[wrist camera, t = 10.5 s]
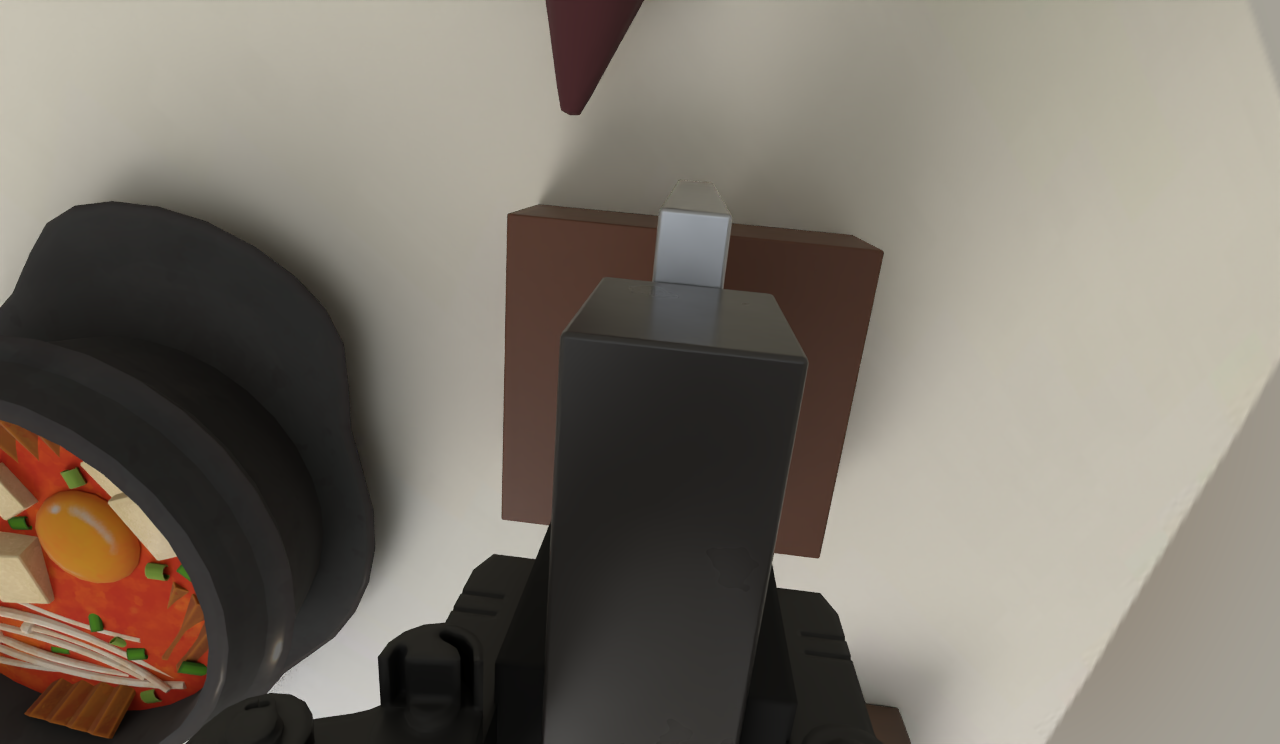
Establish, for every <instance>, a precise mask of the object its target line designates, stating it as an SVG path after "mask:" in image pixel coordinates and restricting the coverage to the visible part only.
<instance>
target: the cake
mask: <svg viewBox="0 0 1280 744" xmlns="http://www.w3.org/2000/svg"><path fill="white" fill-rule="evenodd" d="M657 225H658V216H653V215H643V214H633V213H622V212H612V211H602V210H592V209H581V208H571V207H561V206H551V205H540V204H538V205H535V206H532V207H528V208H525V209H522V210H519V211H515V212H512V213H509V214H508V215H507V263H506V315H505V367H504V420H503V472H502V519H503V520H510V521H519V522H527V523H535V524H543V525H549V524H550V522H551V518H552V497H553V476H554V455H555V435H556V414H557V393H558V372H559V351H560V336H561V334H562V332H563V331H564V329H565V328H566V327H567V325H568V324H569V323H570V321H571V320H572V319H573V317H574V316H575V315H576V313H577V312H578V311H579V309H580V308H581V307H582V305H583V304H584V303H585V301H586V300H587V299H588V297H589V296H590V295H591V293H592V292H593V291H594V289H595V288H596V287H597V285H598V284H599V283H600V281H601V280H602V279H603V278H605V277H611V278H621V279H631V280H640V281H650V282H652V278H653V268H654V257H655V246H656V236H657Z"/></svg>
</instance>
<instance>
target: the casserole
mask: <svg viewBox="0 0 1280 744" xmlns="http://www.w3.org/2000/svg"><path fill="white" fill-rule="evenodd" d="M374 551H375V535H374V514H373V507H372V503H371V500H370V496H369V492H368V489H367V485H366V481H365V478H364V474H363V470H362V467H361V463H360V459H359V456H358V452H357V449H356V445H355V442H354V438H353V434H352V431H351V419H350V402H349V386H348V377H347V368H346V360H345V351H344V344H343V342H342V340H341V338H340V336H339V334H338V332H337V330H336V328H335V326H334V325H333V323H332V321H331V319H330V317H329V315H328V313H327V311H326V309H325V308H324V307H323V306H322V305H321V303H320V302H319V301H318V300H317V299H316V298H315V297H314V296H313V295H312V294H311V293H310V292H309V291H308V290H307V289H306V288H305V286H304V285H303V284H302V283H301V282H300V281H299V280H298V279H297V278H296V277H295V276H294V275H292V274H291V273H290V272H288V271H287V270H286V269H284V268H283V267H282V266H280V265H279V264H278V263H276V262H275V261H273V260H272V259H271V258H269V257H268V256H267V255H265V254H264V253H263V252H261V251H260V250H259V249H257V248H256V247H255V246H253V245H251V244H249V243H247V242H245V241H243V240H241V239H239V238H237V237H235V236H234V235H232V234H230V233H228V232H226V231H224V230H222V229H220V228H218V227H216V226H214V225H212V224H211V223H209V222H206V221H203V220H200V219H197V218H193V217H190V216H187V215H184V214H180V213H177V212H174V211H171V210H167V209H164V208H161V207H157V206H148V205H140V204H131V203H123V202H114V201H110V202H102V203H94V204H86V205H77V206H74V207H72V208H71V209H69V210H67V211H66V212H64V213H62V214H61V215H59V216H58V217H56V218H54V219H53V220H51V221H50V222H48V223H47V224H46V225H45V227H44V229H43V231H42V233H41V234H40V236H39V238H38V240H37V242H36V243H35V245H34V247H33V249H32V251H31V252H30V254H29V257H28V259H27V261H26V264H25V266H24V268H23V271H22V273H21V275H20V277H19V280H18V282H17V284H16V287H15V289H14V291H13V293H12V295H11V296H10V297H9V298H8V299H7V300H6V302H5V303H4V304H3V305H2V306H1V307H0V744H183V743H185V742H186V741H188V740H189V739H191V738H192V737H193V736H194V735H195V734H196V733H197V732H198V731H199V730H200V729H201V728H202V727H203V726H204V725H205V724H206V723H207V722H209V721H210V720H211V719H212V718H214V717H215V716H216V715H218V714H219V713H220V712H222V711H223V710H224V709H225V708H227V707H230V706H232V705H234V704H236V703H238V702H240V701H243V700H245V699H247V698H250V697H255V696H259V695H264V694H267V693H268V691H269V690H270V689H271V688H272V687H273V686H274V684H275V683H276V682H277V681H278V680H279V679H280V677H281V676H282V675H283V674H284V673H285V672H287V671H288V670H289V669H291V668H292V667H294V666H295V665H296V664H298V663H299V662H301V661H302V660H303V659H305V658H306V657H308V656H309V655H310V654H312V653H313V652H315V651H316V650H317V649H319V648H320V647H321V646H323V645H324V644H326V643H327V642H328V641H330V640H331V639H332V638H334V637H335V636H336V635H337V634H338V632H339V631H340V630H341V629H342V627H343V626H344V625H345V624H346V623H347V621H348V620H349V619H350V618H351V616H352V615H353V614H354V613H355V611H356V609H357V607H358V605H359V602H360V600H361V598H362V596H363V594H364V592H365V589H366V587H367V585H368V583H369V579H370V573H371V568H372V562H373V557H374Z"/></svg>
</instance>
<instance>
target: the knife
mask: <svg viewBox="0 0 1280 744" xmlns="http://www.w3.org/2000/svg"><path fill="white" fill-rule="evenodd" d="M731 226H732V215H731V214H730V212H729V210H728V208H727V207H726V205H725V203H724V201H723V200H722V198H721V196H720V194H719V193H718V191H717V189H716V187H715V186H714V184H713V183H711V182H700V181H690V180H679V181H678V182H677V184H676V185H675V187H674V189H673V190H672V192H671V193H670V195H669V196H668V198H667V199H666V201H665V202H664V204H663V205H662V207H661V208H660V210H659V215H658V225H657V236H656V246H655V257H654V268H653V278H652V282H650V281H640V280H631V279H621V278H611V277H605V278H603V279H602V280H601V281H600V283H599V284H598V285H597V287H596V288H595V289H594V291H593V292H592V293H591V295H590V296H589V297H588V299H587V300H586V301H585V303H584V304H583V305H582V307H581V308H580V309H579V311H578V312H577V313H576V315H575V316H574V317H573V319H572V320H571V321H570V323H569V324H568V325H567V327H566V328H565V329H564V331H563V332H562V334H561V336H560V351H559V372H558V393H557V414H556V435H555V455H554V476H553V497H552V518H551V538H550V559H549V580H548V601H547V622H546V642H545V663H544V684H543V705H542V725H541V744H739V741H740V735H741V730H742V724H743V719H744V713H745V708H746V702H747V697H748V691H749V686H750V681H751V675H752V670H753V664H754V659H755V653H756V648H757V642H758V637H759V631H760V626H761V620H762V615H763V610H764V604H765V599H766V593H767V588H768V582H769V577H770V571H771V566H772V560H773V555H774V549H775V544H776V539H777V533H778V528H779V522H780V517H781V511H782V506H783V500H784V495H785V489H786V484H787V479H788V473H789V468H790V462H791V457H792V451H793V446H794V440H795V435H796V429H797V424H798V418H799V413H800V408H801V402H802V397H803V391H804V386H805V380H806V375H807V369H808V364H809V363H808V359H807V357H806V355H805V353H804V351H803V349H802V348H801V346H800V344H799V342H798V340H797V338H796V337H795V335H794V333H793V331H792V329H791V327H790V326H789V324H788V322H787V320H786V318H785V316H784V314H783V313H782V311H781V309H780V307H779V305H778V303H777V302H776V300H775V298H774V296H773V295H771V294H767V293H757V292H747V291H738V290H728V289H723V287H724V280H725V272H726V264H727V257H728V249H729V242H730V234H731Z"/></svg>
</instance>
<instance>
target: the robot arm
mask: <svg viewBox="0 0 1280 744" xmlns="http://www.w3.org/2000/svg"><path fill="white" fill-rule="evenodd" d="M550 538H551V522H550V524H549V527H548V530H547V532H546V535H545V537H544V540H543V542H542V545H541V547H540V550H539V552H538V555H537V557H536V559H529V558H521V557H513V556H505V555H497V554H493V555H492V556H491V557H489V558H488V559H487V560H485V561H484V562H483V563H482V564H480V565H479V566H478V567H476V568H475V569H474V570H473V572H472V574H471V575H470V577H469V579H468V581H467V583H466V585H465V587H464V588H463V592H462V594H460V596H459V598H458V600H457V602H456V603H455V605H454V609H453V611H451V613H450V615H449V617H448V618H447V620H446V622H445V623H437V624H426V625H422V626H419V627H416V628H413V629H411V630H408V631H405V632H403V633H402V634H401V635H399V636H398V637H396V638H395V639H393V640H392V641H390V642H389V643H388V644H387V646H386V647H385V648H384V650H383V651H382V652H381V654H380V655H379V656H378V666H379V683H380V700H381V705H380V706H377V707H375V708H373V709H370V710H366V711H362V712H358V713H353V714H346V715H339V716H332V717H325V718H318V719H313V716H312V713H311V711H310V710H309V708H308V706H307V704H306V703H305V702H304V701H302V700H300V699H298V698H297V697H295V696H293V695H291V694H277V693H269V694H264V695H259V696H255V697H250V698H247V699H245V700H243V701H240V702H238V703H236V704H234V705H232V706H230V707H227V708H225V709H224V710H223V711H222V712H220V713H219V714H218V715H216V716H215V717H214V718H212V719H211V720H210V721H209V722H207V723H206V724H205V725H204V726H203V727H202V728H201V729H200V730H199V731H198V732H197V733H196V734H195V735H194V736H193V737H192V738H191V739H190V740H189V741H188V742H187V743H186V744H541V725H542V705H543V684H544V663H545V642H546V622H547V601H548V580H549V559H550ZM739 744H884V743H882V742H881V741H879V740H878V739H877V738H876V736H875V733H874V730H873V727H872V724H871V720H870V717H869V714H868V711H867V707H866V704H865V701H864V698H863V694H862V691H861V688H860V684H859V681H858V678H857V675H856V671H855V668H854V665H853V662H852V661H851V655H850V652H849V649H848V645H847V642H846V641H845V636H844V632H843V629H842V626H841V623H840V619H839V616H838V614H837V612H836V611H835V610H834V609H833V608H832V607H831V605H830V604H829V603H828V602H827V601H826V599H825V598H824V597H823V596H822V595H821V593H815V592H807V591H799V590H791V589H783V588H776V582H775V577H774V571H773V566H771V571H770V577H769V582H768V588H767V593H766V599H765V604H764V610H763V615H762V620H761V626H760V631H759V637H758V642H757V648H756V653H755V659H754V664H753V670H752V675H751V681H750V686H749V691H748V697H747V702H746V708H745V713H744V719H743V724H742V730H741V735H740V741H739Z"/></svg>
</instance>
